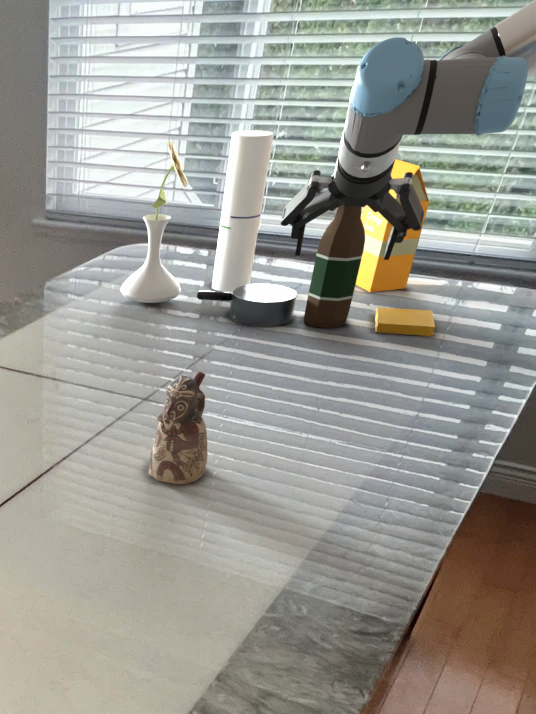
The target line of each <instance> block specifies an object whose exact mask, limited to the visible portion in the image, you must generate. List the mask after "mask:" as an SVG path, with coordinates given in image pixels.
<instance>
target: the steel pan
mask: <svg viewBox="0 0 536 714" xmlns="http://www.w3.org/2000/svg"><path fill="white" fill-rule="evenodd" d="M297 294H298V293H297V291H296V290H295V289H292V288H290V287H287V286H284V285H280V284H279V285H278V284H272V283H250V285H244V286H240V287H237V288H235V289H234V290H233V292H232V293H231V292H221V291H211V290H199V291H197V293H196V298H197V299H198V300H201V301H216V302H217V301H218V302H230V305H229V306H230V307H229V313H228V317H229V319H230V320H231V321H233V322H235V323H237V324H239V325H240V324H241V325H245V326H251V327H259V328H260V327H263V328H265V327H278V326H282V325H286V324H288V323H290V322H291V321H292V319H293V316H294V310H295V306H296V299H297Z"/></svg>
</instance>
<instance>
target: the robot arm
mask: <svg viewBox="0 0 536 714" xmlns="http://www.w3.org/2000/svg"><path fill="white" fill-rule="evenodd" d="M424 58H425V57H424V53H423V50H422V49H421V47H420V45H419V44H417V43H416V42H414V41H410V40H408V39H407V38H406V37H401V36H399V37H397V36H396V37H390V38H386V39H384V40H382V41H380V42H378V43H376V44H375V45H373V46H372V47H370V49H369V50H368V51H367V52H366V53H365V54H364V56H363V57H362V59H361V60H360V63H359V64H358V67H357V71H356V74H355V78H354V82H353V83H352V86H351V90H350V91H351V92H350V95H349V100H348V101H349V102H348V106H347V112H346V117H345V122H344V127H343V131H342V136H341V139H340V145H339V151H338V155H337V158H336V159H337V160H336V164H335V169H334V173H332V175H331V176H323V175H322V176H321V174H322V173H321V171H320V170H318V169H315V170H313V171H312V172H311V175H310V178H309V180H308V181H307V183H305V185H303V187H302V188H301V189H300V190H298V192H297V193H296V194H295V195H294V196H293V197H292V198H291V199H290V201H288V203H287V204H286V205H285V206H284V207H283V210H282V215H281V220H280V225H281V226H283V227H287V226H289V225H290V226H291V233H290V238H291V239H292V240H297V241H296V247H295V252H294V253H295V255H294V256H298V257H299V256H301V251H302V247H303V242H304V236H305V230H306V225H307V224H308V223H310V222H312V221H314V220H315V219H317V218H319V217H320V216H322V215H323V214H325V213H327V212H328V211H330V212H333V211H334V210H335V211H336V210H337V209H338V207H340V206H341V205H343V206H347V207H349V206H358V207H361V208H363V207H366V205H368V206H369V207H370V208H371V209H372V210H373V211H374V212H379V213H380V214H381V215H382V216H383V217H384V218H385V219H386V220H387V221H388V222H389V223H390V224H391V225H392V226H393V227H392V230H391V233H390V236H389V239H388V242H387V246H386V251H385V256H384V260H389V258H390V255H391V252H392V249H393V246H394V244H395V243H401V242H402V241H403V239H404V237H406V234H407V230H408V229H413V230H414V231H418V230H420V229H421V226H422V221H423V216H424V210H423V208H422V206H421V203H420V201H419V199H418V196H417V194H416V192H415V189H414V187H413V185H412V178H413V173H412V172H407V173H405V174H404V177H403V178H395V179H392V177H391V172H392V169H393V166H394V163H395V159H396V158H397V155H398V152H399V149H400V145H401V142H402V138H403V136H411V135H412V136H419V135H476V136H480V137H481V136H482V135H483V134H484V135H485V134H498V133H504V132H505V131H507V130H509V129H510V127H511V126H512V125H513V123H514V121H515V120H516V117H517V114H518V113H519V110H520V107H521V104H522V100H523V97H524V93H525V89H526V86H527V81H528V78H529V77H530V76H532V75H534V74H536V0H532V1H531V2H529V3H527V4H526V5H524V6H523V7H521V8H520V9H519V10H517V11H515V12H514V13H512V14H511V15H509V16H507V17H506V18H504V19H502V20H501V21H500V22H498V23H496V24H495V25H494V26H493V27H491V28H490V29H488V30H486V31H484V32H483V33H481V34H480V35H478V36H477V37H474V38H473V39H472V40H470V41H468V42H467V43H466V44H462V45H459V46H455V47H454V48H452V49H450V50H449V51H447V52H446V53H444V54H443V55H442V56H441V57H439V59H438V60H437V59H424ZM324 189H326V190H325V191H324V192H322V191H323V190H324ZM390 189H391V190H394V191H395V193H396V194H397V195H396V197H397V198H399V197H400V203H401V204H400V203H399V202H398V201H397V200H396V199H395V198H394V197H393V196H392V195H391V194H390V193H389V191H390ZM321 192H322V193H321ZM320 193H321V194H320Z"/></svg>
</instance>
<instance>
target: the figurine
mask: <svg viewBox="0 0 536 714" xmlns="http://www.w3.org/2000/svg"><path fill="white" fill-rule="evenodd" d="M205 377H206V374H205V373H204V372H202V371H201V370H200V371H197V373H195V375H194V376H193V377H191V376H189V375H180V376H178V377H176V378H175V379H174V380H173V382H171V383H170V384H169V385H168V386H167V387H166V388H165V393H166V395H165V400H164V405H163V409H162V412H161V413H159V414H157V416H156V420H157V421H158V422H159V423H158V426H157V429H156V432H155V436H154V437H155V438H154V441H153V445H152V448H151V451H150V456H149V469H148V474H149V476H150V477H152V478H154V479H155V480H156V481H158V482H164V483H167V484H173V485H186V484H190V483H194V482H196V481H198V480H199V479H200V478H201V477H203V475H204V474H205V471H206V467H207V466H206V465H207V462H208V433H207V425H206V422H205V419H204V418H203V413H204V410H205V406H206V395H205V393H204V392H203V391H202V389H201V384H202V382H203V380H204V379H205Z"/></svg>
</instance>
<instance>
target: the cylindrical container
mask: <svg viewBox="0 0 536 714" xmlns="http://www.w3.org/2000/svg"><path fill="white" fill-rule="evenodd" d="M274 134H275V133H274V132H273V131H269V130H260V129H245V130H236V131H233V132H232V133H231V139H230V146H229V152H228V153H229V154H228V162H227V169H226V175H225V184H224V192H223V200H222V205H221V206H222V207H221V214H220V221H219V231H218V235H217V236H218V237H217V245H216V253H215V258H214V267H213V273H212V274H213V275H212V283H211V288H212V289H213V290H215V291H216V292H230V293H232V292H233V290H234V289H235V288H237V287H240V286H244V285H250V284H251V277H252V271H253V265H254V259H255V253H256V246H257V242H258V241H257V240H258V236H259V235H258V234H259V228H260V223H261V221H260V220H261V214H262V208H263V203H264V196H265V190H266V185H267V178H268V171H269V167H270V165H269V164H270V159H271V153H272V147H273V140H274Z"/></svg>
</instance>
